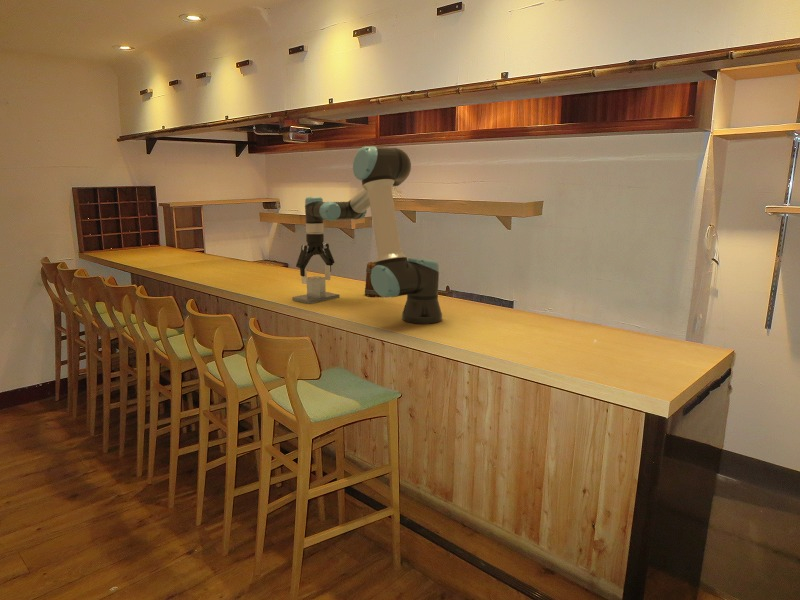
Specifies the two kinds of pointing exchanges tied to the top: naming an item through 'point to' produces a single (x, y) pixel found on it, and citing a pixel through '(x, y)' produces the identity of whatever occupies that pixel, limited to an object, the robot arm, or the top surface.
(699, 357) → the top surface
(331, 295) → the shaft stand
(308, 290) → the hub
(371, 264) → the mug
